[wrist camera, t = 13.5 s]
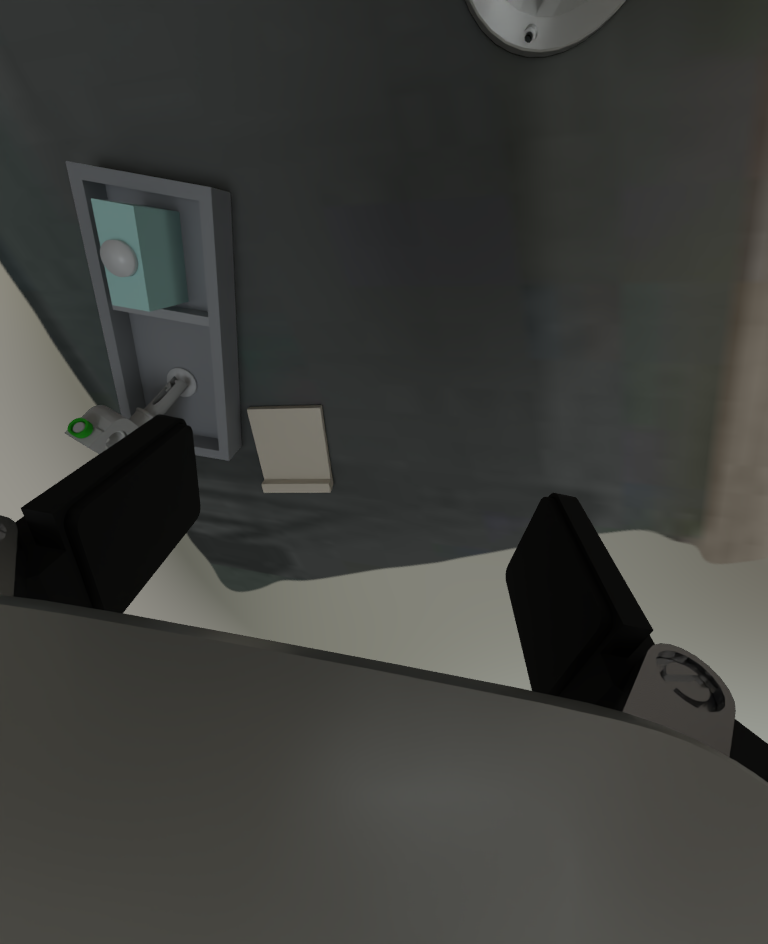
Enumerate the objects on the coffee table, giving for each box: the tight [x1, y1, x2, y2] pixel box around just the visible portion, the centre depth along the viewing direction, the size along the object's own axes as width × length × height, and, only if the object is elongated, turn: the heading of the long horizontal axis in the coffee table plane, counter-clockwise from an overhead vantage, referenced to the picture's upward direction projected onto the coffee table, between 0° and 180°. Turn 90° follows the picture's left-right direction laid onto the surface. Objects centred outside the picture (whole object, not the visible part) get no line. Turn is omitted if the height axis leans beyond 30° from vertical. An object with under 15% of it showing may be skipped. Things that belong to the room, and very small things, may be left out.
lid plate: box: [247, 405, 333, 493], centre depth 43 cm, size 10×8×2 cm
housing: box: [66, 161, 242, 461], centre depth 35 cm, size 24×11×8 cm, turn 171°
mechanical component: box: [65, 376, 188, 454], centre depth 37 cm, size 3×10×10 cm
